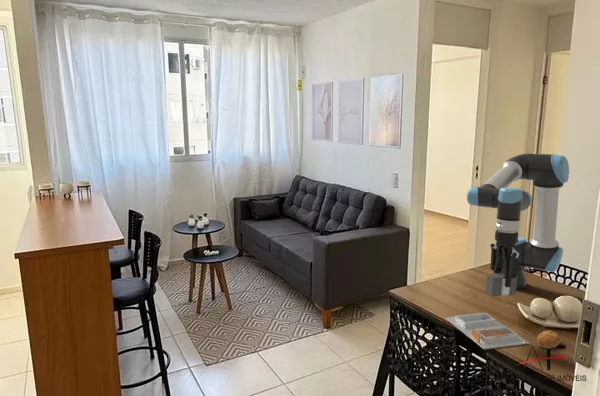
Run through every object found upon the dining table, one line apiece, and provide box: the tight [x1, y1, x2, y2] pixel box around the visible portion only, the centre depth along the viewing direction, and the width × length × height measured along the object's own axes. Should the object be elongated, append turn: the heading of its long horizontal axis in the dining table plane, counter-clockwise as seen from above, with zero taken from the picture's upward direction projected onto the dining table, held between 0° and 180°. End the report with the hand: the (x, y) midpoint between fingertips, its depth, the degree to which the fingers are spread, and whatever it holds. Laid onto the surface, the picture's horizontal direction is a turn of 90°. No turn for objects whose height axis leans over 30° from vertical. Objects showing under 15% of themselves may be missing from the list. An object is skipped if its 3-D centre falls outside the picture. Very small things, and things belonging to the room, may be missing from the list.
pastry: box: [536, 330, 562, 350], centre depth 150 cm, size 9×7×4 cm
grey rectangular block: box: [485, 273, 517, 297], centre depth 156 cm, size 10×4×7 cm, turn 102°
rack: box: [445, 312, 530, 351], centre depth 160 cm, size 18×24×4 cm
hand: (501, 292), depth 156 cm, fingers closed on grey rectangular block, 3 cm apart
